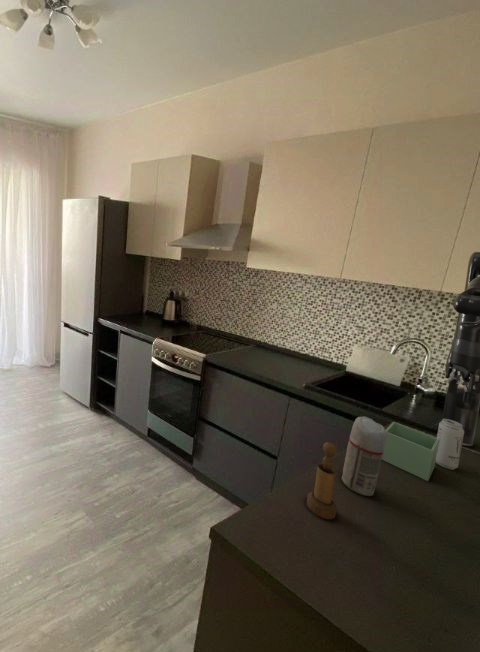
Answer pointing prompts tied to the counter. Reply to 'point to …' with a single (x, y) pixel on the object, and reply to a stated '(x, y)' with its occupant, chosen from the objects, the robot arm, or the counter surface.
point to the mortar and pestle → (324, 486)
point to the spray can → (364, 456)
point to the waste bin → (410, 450)
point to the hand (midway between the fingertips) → (459, 397)
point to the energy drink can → (449, 443)
